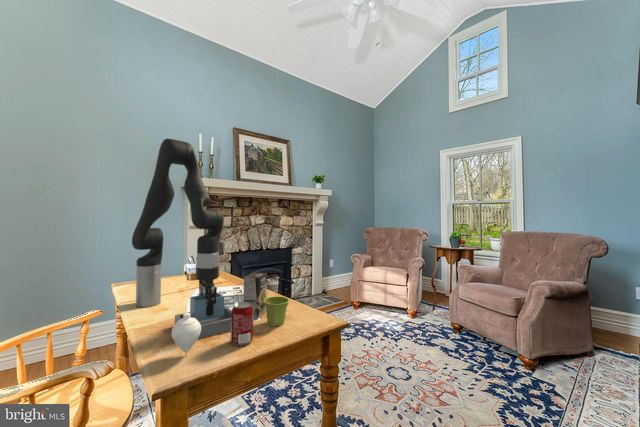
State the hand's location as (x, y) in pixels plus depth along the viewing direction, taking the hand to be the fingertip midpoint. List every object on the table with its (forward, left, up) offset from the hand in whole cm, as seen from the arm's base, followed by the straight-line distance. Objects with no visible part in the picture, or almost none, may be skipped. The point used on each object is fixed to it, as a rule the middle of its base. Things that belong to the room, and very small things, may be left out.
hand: (207, 312), depth 98 cm
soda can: (+17, +6, -6) cm, 19 cm away
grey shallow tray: (0, 0, -5) cm, 5 cm away
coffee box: (-2, +19, -6) cm, 20 cm away
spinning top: (+16, -10, -6) cm, 20 cm away
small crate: (0, 0, -1) cm, 1 cm away
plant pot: (+10, +22, -6) cm, 25 cm away
